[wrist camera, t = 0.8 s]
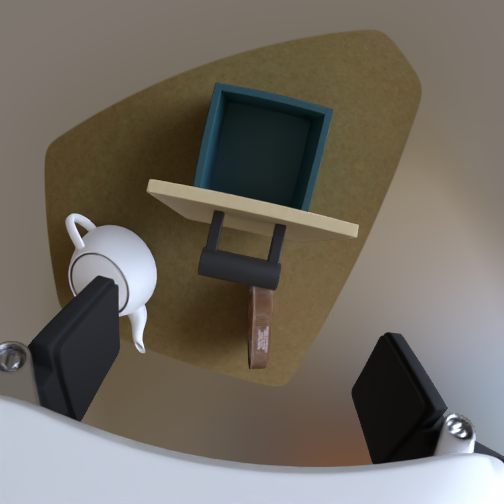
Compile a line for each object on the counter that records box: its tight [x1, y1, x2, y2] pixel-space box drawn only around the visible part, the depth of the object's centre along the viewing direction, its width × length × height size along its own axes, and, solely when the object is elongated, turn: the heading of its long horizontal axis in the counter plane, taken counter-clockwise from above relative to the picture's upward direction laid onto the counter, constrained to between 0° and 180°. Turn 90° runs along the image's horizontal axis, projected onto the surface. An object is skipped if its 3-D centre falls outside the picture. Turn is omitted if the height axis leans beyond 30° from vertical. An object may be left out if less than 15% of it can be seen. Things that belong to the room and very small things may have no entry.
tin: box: [248, 285, 273, 369], centre depth 42 cm, size 15×3×8 cm, turn 178°
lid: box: [147, 179, 359, 290], centre depth 24 cm, size 15×13×5 cm
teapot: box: [65, 214, 157, 353], centre depth 39 cm, size 22×14×11 cm, turn 25°
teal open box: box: [193, 83, 333, 212], centre depth 34 cm, size 15×13×9 cm
